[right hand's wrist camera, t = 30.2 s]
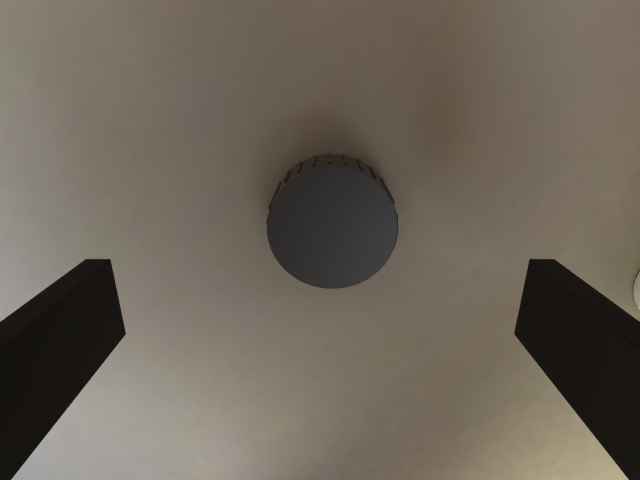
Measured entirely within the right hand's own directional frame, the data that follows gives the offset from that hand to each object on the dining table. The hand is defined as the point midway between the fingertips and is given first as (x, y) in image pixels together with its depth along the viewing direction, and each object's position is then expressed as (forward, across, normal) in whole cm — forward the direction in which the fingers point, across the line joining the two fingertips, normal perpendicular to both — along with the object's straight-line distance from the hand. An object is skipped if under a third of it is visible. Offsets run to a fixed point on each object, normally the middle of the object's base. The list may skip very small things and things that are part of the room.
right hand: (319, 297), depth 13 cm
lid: (+4, 0, +1) cm, 4 cm away
